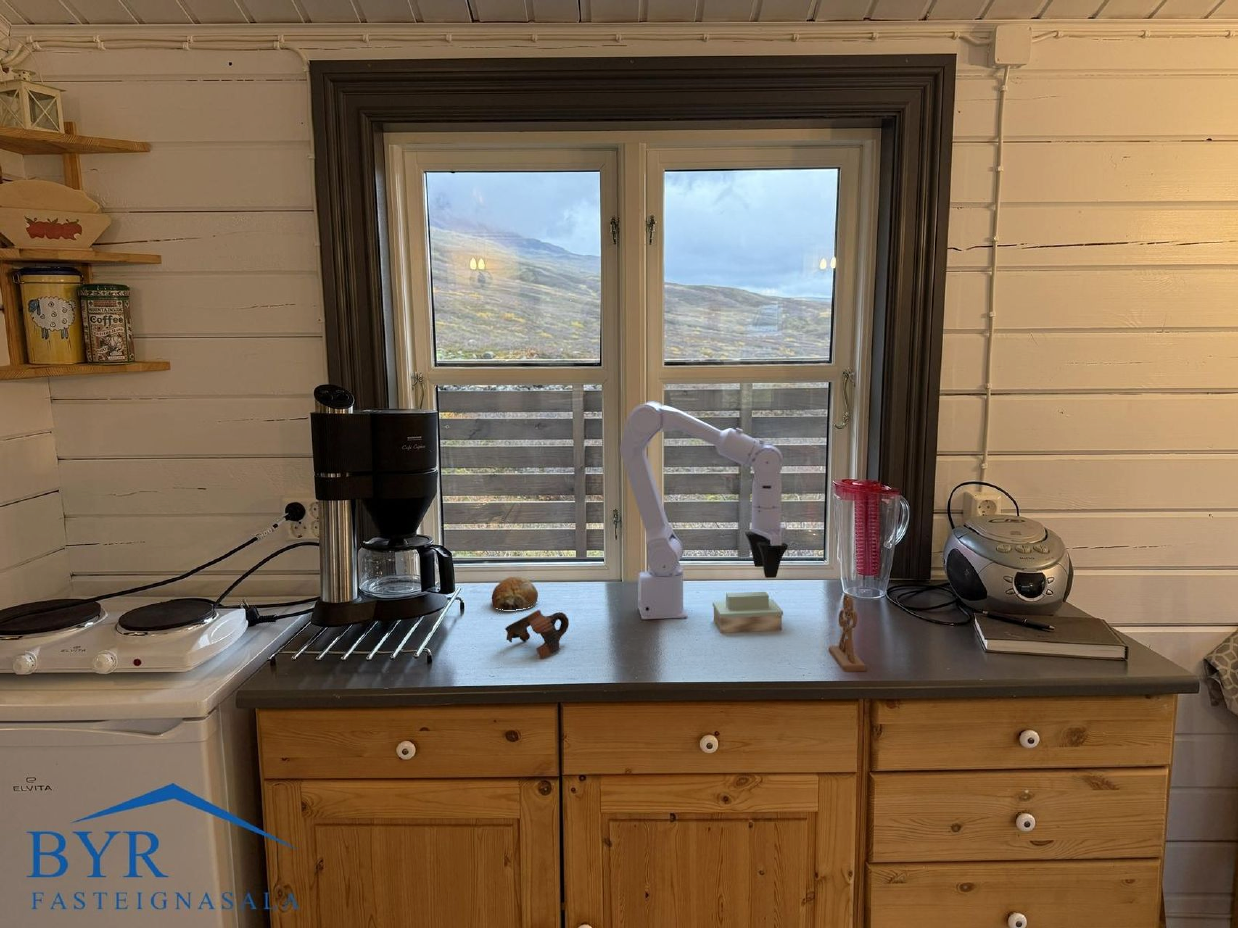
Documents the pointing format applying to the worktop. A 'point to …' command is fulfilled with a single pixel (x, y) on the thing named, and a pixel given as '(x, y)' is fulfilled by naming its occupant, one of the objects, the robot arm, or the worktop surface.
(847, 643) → the tan tall carved piece
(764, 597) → the lid
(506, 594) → the bread roll
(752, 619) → the box
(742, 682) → the worktop surface
